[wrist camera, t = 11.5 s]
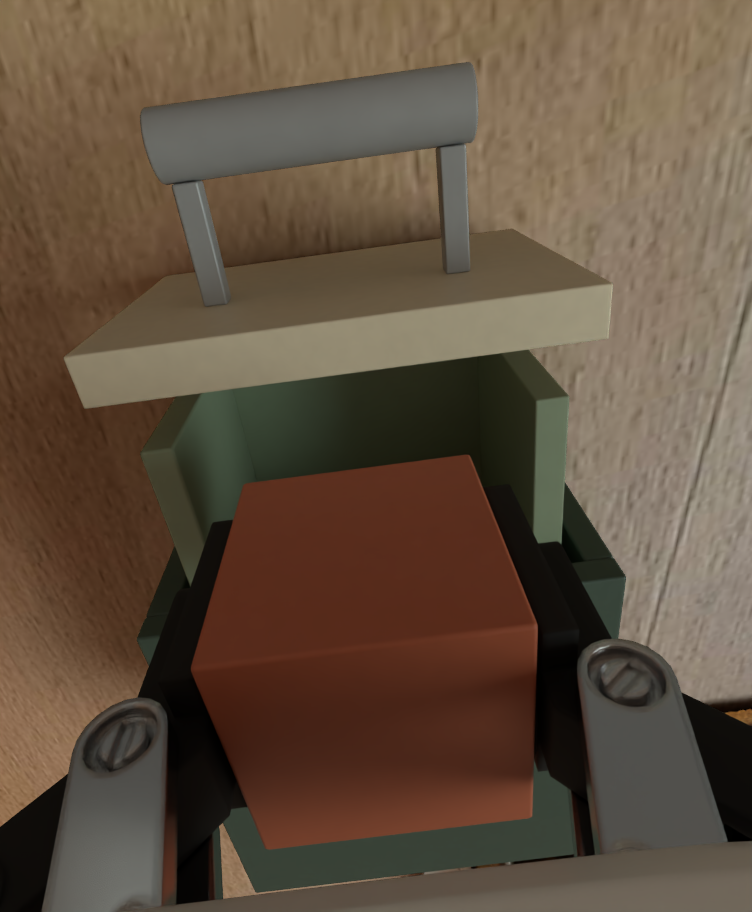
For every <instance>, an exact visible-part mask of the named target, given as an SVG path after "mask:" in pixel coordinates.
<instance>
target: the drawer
mask: <svg viewBox="0 0 752 912" xmlns="http://www.w3.org/2000/svg"><path fill="white" fill-rule="evenodd" d="M477 123H478V91H477V81H476V75H475V71H474V68H473V65H472V64H471V63H470V62H465V63H458V64H451V65H444V66H437V67H430V68H422V69H415V70H408V71H401V72H394V73H387V74H380V75H373V76H366V77H359V78H351V79H344V80H337V81H330V82H323V83H316V84H309V85H302V86H295V87H288V88H280V89H273V90H266V91H259V92H252V93H245V94H238V95H231V96H224V97H217V98H210V99H202V100H195V101H188V102H181V103H174V104H167V105H160V106H153V107H146V108H144V109H142V111H141V115H140V124H141V132H142V138H143V142H144V146H145V150H146V153H147V156H148V159H149V161H150V164H151V166H152V168H153V171H154V172H155V174H156V176H157V178H158V179H159V180H160V182H161V183H163V184H165V185H170V184H174V185H172V190H173V194H174V197H175V201H176V205H177V208H178V212H179V216H180V219H181V223H182V227H183V230H184V234H185V238H186V241H187V245H188V249H189V252H190V256H191V259H192V263H193V267H194V270H195V272H192V273H184V274H177V275H170V276H165V277H164V278H163V279H161V280H160V281H159V282H158V283H156V284H155V285H154V286H153V287H151V288H150V289H149V290H148V291H146V292H145V293H144V294H143V295H141V296H140V297H139V298H138V299H136V300H135V301H134V302H132V303H131V304H130V305H129V306H127V307H126V308H125V309H124V310H122V311H121V312H120V313H119V314H117V315H116V316H115V317H114V318H112V319H111V320H110V321H109V322H107V323H106V324H105V325H104V326H102V327H101V328H100V329H99V330H97V331H96V332H95V333H93V334H92V335H91V336H90V337H88V338H87V339H86V340H85V341H83V342H82V343H81V344H80V345H78V346H77V347H76V348H75V349H73V350H72V351H71V352H70V353H68V354H67V355H66V356H65V357H64V361H65V364H66V366H67V369H68V371H69V373H70V376H71V378H72V381H73V383H74V385H75V388H76V390H77V393H78V395H79V397H80V400H81V402H82V405H83V407H84V408H85V409H87V408H95V407H102V406H110V405H117V404H125V403H132V402H140V401H147V400H155V399H162V398H170V397H175V399H174V400H173V402H172V404H171V405H170V407H169V408H168V410H167V411H166V413H165V415H164V416H163V418H162V419H161V421H160V422H159V424H158V426H157V427H156V429H155V430H154V432H153V433H152V435H151V437H150V438H149V440H148V441H147V443H146V444H145V446H144V448H143V449H142V451H141V453H140V455H141V458H142V461H143V463H144V466H145V468H146V471H147V474H148V476H149V479H150V482H151V484H152V487H153V490H154V492H155V495H156V497H157V500H158V503H159V505H160V508H161V511H162V513H163V516H164V519H165V521H166V524H167V526H168V529H169V532H170V534H171V537H172V540H173V542H174V545H175V548H176V550H177V553H178V555H179V558H180V561H181V563H182V566H183V569H184V571H185V574H186V577H187V579H188V582H189V584H190V586H191V583H192V581H193V578H194V575H195V572H196V569H197V566H198V563H199V560H200V557H201V554H202V551H203V548H204V545H205V542H206V539H207V536H208V533H209V531H210V528H211V525H212V523H213V522H218V521H225V520H233V519H234V516H235V512H236V509H237V505H238V502H239V498H240V495H241V491H242V488H243V485H244V484H246V483H252V482H260V481H268V480H275V479H283V478H291V477H298V476H306V475H314V474H321V473H329V472H337V471H344V470H352V469H360V468H367V467H375V466H383V465H390V464H398V463H406V462H413V461H421V460H429V459H436V458H444V457H452V456H459V455H469V456H470V457H471V459H472V462H473V464H474V467H475V469H476V472H477V474H478V477H479V479H480V482H481V484H482V487H488V486H496V485H503V484H510V486H511V488H512V490H513V492H514V494H515V496H516V498H517V500H518V502H519V504H520V507H521V509H522V511H523V513H524V515H525V517H526V519H527V521H528V523H529V525H530V527H531V529H532V532H533V534H534V536H535V538H536V540H537V542H538V543H546V542H554V541H558V542H559V543H560V544H561V540H562V522H563V503H564V485H565V466H566V448H567V429H568V411H569V396H568V394H567V393H566V392H565V391H564V390H563V389H562V388H561V386H560V385H559V384H558V383H557V382H556V381H555V380H554V378H553V377H552V376H551V375H550V374H549V373H548V372H547V370H546V369H545V368H544V367H543V366H542V365H541V364H540V362H539V361H538V360H537V359H536V358H535V357H534V356H533V354H532V353H531V352H530V351H529V349H536V348H544V347H551V346H559V345H566V344H574V343H581V342H589V341H596V340H604V339H608V336H609V325H610V313H611V302H612V290H613V284H612V283H611V282H609V281H608V280H606V279H604V278H602V277H600V276H598V275H597V274H595V273H593V272H591V271H589V270H587V269H585V268H584V267H582V266H580V265H578V264H576V263H574V262H573V261H571V260H569V259H567V258H565V257H563V256H562V255H560V254H558V253H556V252H554V251H552V250H550V249H549V248H547V247H545V246H543V245H541V244H539V243H538V242H536V241H534V240H532V239H530V238H528V237H527V236H525V235H523V234H521V233H519V232H517V231H515V230H514V229H506V230H499V231H492V232H484V233H477V234H470V235H469V217H468V190H467V162H466V145H465V143H471V142H473V141H474V139H475V135H476V131H477ZM436 147H437V148H436ZM429 148H436V163H437V179H438V196H439V213H440V229H441V238H440V239H433V240H426V241H418V242H411V243H404V244H396V245H389V246H382V247H374V248H367V249H360V250H353V251H345V252H338V253H331V254H323V255H316V256H309V257H301V258H294V259H287V260H279V261H272V262H265V263H257V264H250V265H243V266H235V267H228V268H224V266H223V261H222V257H221V253H220V249H219V245H218V241H217V237H216V233H215V229H214V225H213V221H212V217H211V213H210V209H209V205H208V201H207V197H206V193H205V189H204V185H203V182H202V181H201V180H206V179H213V178H220V177H227V176H234V175H242V174H249V173H256V172H263V171H270V170H278V169H285V168H292V167H299V166H306V165H313V164H321V163H328V162H335V161H342V160H349V159H357V158H364V157H371V156H378V155H385V154H393V153H400V152H407V151H414V150H421V149H429Z"/></svg>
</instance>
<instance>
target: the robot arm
mask: <svg viewBox="0 0 752 912" xmlns="http://www.w3.org/2000/svg"><path fill="white" fill-rule="evenodd" d="M483 489H484V492H485V494H486V497H487V499H488V502H489V504H490V507H491V509H492V512H493V514H494V517H495V519H496V522H497V524H498V527H499V529H500V532H501V534H502V537H503V539H504V542H505V544H506V547H507V549H508V552H509V554H510V557H511V559H512V562H513V564H514V567H515V569H516V572H517V574H518V577H519V579H520V582H521V584H522V587H523V589H524V592H525V594H526V597H527V599H528V602H529V604H530V607H531V609H532V612H533V614H534V617H535V619H536V622H537V624H538V640H537V674H536V707H535V741H534V761H535V764H536V767H537V770H538V772H541V771H549V774H550V777H552V778H553V779H555V780H556V781H558V782H560V783H561V784H563V785H564V786H566V787H567V791H568V801H569V811H570V822H571V832H572V842H573V852H574V858H565V859H557V860H548V861H539V862H530V863H521V864H513V865H504V866H495V867H486V868H477V869H468V870H460V871H451V872H443V873H434V874H426V875H418V876H409V877H401V878H392V879H384V880H375V881H367V882H359V883H350V884H342V885H334V886H325V887H317V888H309V889H300V890H292V891H284V892H275V893H267V894H259V895H251V896H243V897H235V898H227V899H223V887H222V867H221V847H220V830H219V826H220V825H221V824H222V823H223V822H224V821H225V820H226V819H227V818H228V817H229V816H230V812H231V809H236V808H244V807H248V806H247V804H246V802H245V799H244V797H243V794H242V792H241V790H240V787H239V785H238V782H237V780H236V778H235V775H234V773H233V770H232V768H231V766H230V763H229V761H228V758H227V756H226V754H225V751H224V749H223V746H222V744H221V742H220V739H219V737H218V735H217V732H216V730H215V727H214V725H213V723H212V720H211V718H210V715H209V713H208V711H207V708H206V706H205V703H204V701H203V699H202V696H201V694H200V691H199V689H198V687H197V684H196V682H195V679H194V677H193V675H192V672H191V665H192V662H193V658H194V655H195V651H196V648H197V644H198V641H199V637H200V634H201V630H202V627H203V623H204V620H205V617H206V613H207V610H208V606H209V603H210V599H211V596H212V592H213V589H214V585H215V582H216V578H217V575H218V571H219V568H220V564H221V561H222V557H223V554H224V550H225V547H226V543H227V540H228V536H229V533H230V529H231V526H232V523H233V520H225V521H218V522H213V523H212V525H211V528H210V531H209V533H208V536H207V539H206V542H205V545H204V548H203V551H202V554H201V557H200V560H199V563H198V566H197V569H196V572H195V575H194V578H193V581H192V583H191V586H190V588H186V589H180V590H179V591H178V592H177V593H176V595H175V597H174V599H173V602H172V605H171V608H170V610H169V613H168V616H167V619H166V621H165V624H164V627H163V629H162V632H161V635H160V638H159V640H158V643H157V646H156V649H155V651H154V654H153V657H152V659H151V662H150V665H149V668H148V670H147V673H146V676H145V678H144V681H143V684H142V687H141V689H140V692H139V695H138V698H133V699H128V700H124V701H122V702H119V703H117V704H115V705H112V706H110V707H109V708H107V709H106V710H104V711H103V712H101V713H100V714H99V715H97V716H96V717H95V718H94V719H93V720H92V721H91V722H90V723H89V724H88V725H87V726H86V727H85V729H84V730H83V732H82V733H81V735H80V736H79V738H78V739H77V741H76V744H75V747H74V749H73V752H72V757H71V762H70V767H69V772H68V774H67V775H66V776H65V777H63V778H62V779H61V780H59V781H58V782H57V783H56V784H54V785H53V786H52V787H51V788H49V789H48V790H47V791H45V792H44V793H43V794H42V795H40V796H39V797H38V798H37V799H35V800H34V801H33V802H31V803H30V804H29V805H28V806H26V807H25V808H24V809H22V810H21V811H20V812H19V813H17V814H16V815H15V816H14V817H12V818H11V819H10V820H8V821H7V822H6V823H5V824H3V825H2V826H1V827H0V912H752V726H750V725H748V724H746V723H744V722H742V721H740V720H737V719H735V718H733V717H731V716H729V715H727V714H725V713H723V712H721V711H719V710H717V709H715V708H713V707H710V706H708V705H706V704H704V703H702V702H700V701H698V700H696V699H694V698H692V697H690V696H688V695H686V694H684V693H681V690H680V687H679V684H678V680H677V678H676V676H675V674H674V672H673V670H672V668H671V666H670V665H669V664H668V663H667V662H666V661H665V660H664V659H663V658H662V657H661V656H660V655H659V654H658V653H656V652H654V651H653V650H651V649H650V648H648V647H647V646H644V645H641V644H639V643H636V642H634V641H629V640H623V639H612V638H611V636H610V634H609V632H608V630H607V628H606V627H605V625H604V623H603V621H602V619H601V617H600V615H599V613H598V612H597V610H596V608H595V606H594V604H593V602H592V600H591V599H590V597H589V595H588V593H587V591H586V589H585V587H584V585H583V584H582V582H581V580H580V578H579V576H578V574H577V572H576V571H575V569H574V567H573V565H572V563H571V561H570V559H569V557H568V556H567V554H566V552H565V550H564V548H563V547H562V545H561V544H560V543H559V542H558V541H554V542H546V543H538V542H537V540H536V538H535V536H534V534H533V532H532V529H531V527H530V525H529V523H528V521H527V519H526V517H525V515H524V513H523V511H522V509H521V507H520V504H519V502H518V500H517V498H516V496H515V494H514V492H513V490H512V488H511V486H510V484H503V485H496V486H488V487H483Z"/></svg>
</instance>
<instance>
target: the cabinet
mask: <svg viewBox="0 0 752 912" xmlns="http://www.w3.org/2000/svg"><path fill="white" fill-rule="evenodd" d="M561 545H562V547H563V548H564V550H565V552H566V554H567V556H568V557H569V559H570V561H571V563H572V565H573V567H574V569H575V571H576V572H577V574H578V576H579V578H580V580H581V582H582V584H583V585H584V587H585V589H586V591H587V593H588V595H589V597H590V599H591V600H592V602H593V604H594V606H595V608H596V610H597V612H598V613H599V615H600V617H601V619H602V621H603V623H604V625H605V627H606V628H607V630H608V632H609V634H610V636H611V638H612V639H618V635H619V628H620V620H621V613H622V605H623V597H624V590H625V582H626V576H625V574H624V573H623V571H622V570H621V568H620V567H619V565H618V564H617V562H616V561H615V559H614V558H613V556H612V554H611V553H610V551H609V550H608V548H607V547H606V545H605V544H604V542H603V541H602V539H601V537H600V536H599V534H598V533H597V531H596V530H595V528H594V527H593V525H592V523H591V522H590V520H589V519H588V517H587V516H586V514H585V513H584V511H583V510H582V508H581V506H580V505H579V503H578V502H577V500H576V499H575V497H574V496H573V494H572V492H571V491H570V489H569V488H568V486H567V485H566V483H565V485H564V503H563V522H562V540H561ZM186 588H190V584H189V582H188V579H187V577H186V574H185V571H184V569H183V566H182V563H181V561H180V558H179V555H178V553H177V550H176V548H175V546H174V549H173V551H172V554H171V556H170V559H169V561H168V564H167V566H166V569H165V571H164V573H163V576H162V578H161V581H160V583H159V586H158V588H157V591H156V593H155V595H154V598H153V600H152V603H151V605H150V608H149V610H148V613H147V616H146V617H147V618H145V620H144V622H143V625H142V627H141V630H140V632H139V634H138V637H137V642H138V644H139V646H140V648H141V650H142V653H143V655H144V657H145V659H146V661H147V663H148V665H150V662H151V659H152V657H153V654H154V651H155V649H156V646H157V643H158V640H159V638H160V635H161V632H162V629H163V627H164V624H165V621H166V619H167V616H168V613H169V610H170V608H171V605H172V602H173V599H174V597H175V595H176V593H177V592H178V591H179V590H180V589H186ZM223 824H224V826H225V828H226V831H227V833H228V835H229V837H230V839H231V841H232V843H233V845H234V847H235V850H236V852H237V854H238V856H239V858H240V860H241V862H242V864H243V867H244V869H245V871H246V873H247V875H248V877H249V879H250V881H251V883H252V886H253V888H254V890H255V892H257V893H258V892H266V891H275V890H283V889H291V888H300V887H308V886H316V885H324V884H333V883H341V882H349V881H357V880H366V879H374V878H382V877H390V876H399V875H407V874H415V873H423V872H432V871H440V870H448V869H456V868H465V867H473V866H481V865H489V864H498V863H506V862H514V861H522V860H531V859H539V858H547V857H555V856H564V855H572V854H574V852H573V842H572V832H571V822H570V811H569V801H568V791H567V787H566V786H564V785H563V784H561V783H560V782H558V781H556V780H555V779H553V778H552V777H550V774H549V771H541V772H538V770H537V767H536V764H535V761H534V775H533V808H532V817H530V818H527V819H519V820H511V821H502V822H494V823H486V824H477V825H469V826H461V827H453V828H444V829H436V830H428V831H419V832H411V833H403V834H395V835H386V836H378V837H370V838H361V839H353V840H345V841H337V842H328V843H320V844H312V845H303V846H295V847H287V848H279V849H270V850H269V849H265V847H264V845H263V842H262V840H261V837H260V835H259V833H258V830H257V828H256V825H255V823H254V821H253V818H252V816H251V814H250V811H249V809H248V807H244V808H236V809H231V812H230V816H229V817H228V818H227V819H226V820H225V821H224V822H223Z"/></svg>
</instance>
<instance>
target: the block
mask: <svg viewBox="0 0 752 912" xmlns="http://www.w3.org/2000/svg"><path fill="white" fill-rule="evenodd" d="M537 640H538V624H537V622H536V619H535V617H534V614H533V612H532V609H531V607H530V604H529V602H528V599H527V597H526V594H525V592H524V589H523V587H522V584H521V582H520V579H519V577H518V574H517V572H516V569H515V567H514V564H513V562H512V559H511V557H510V554H509V552H508V549H507V547H506V544H505V542H504V539H503V537H502V534H501V532H500V529H499V527H498V524H497V522H496V519H495V517H494V514H493V512H492V509H491V507H490V504H489V502H488V499H487V497H486V494H485V492H484V489H483V487H482V484H481V482H480V479H479V477H478V474H477V472H476V469H475V467H474V464H473V462H472V459H471V457H470V456H469V455H459V456H452V457H444V458H436V459H429V460H421V461H413V462H406V463H398V464H390V465H383V466H375V467H367V468H360V469H352V470H344V471H337V472H329V473H321V474H314V475H306V476H298V477H291V478H283V479H275V480H268V481H260V482H252V483H246V484H244V485H243V488H242V491H241V495H240V498H239V502H238V505H237V509H236V512H235V516H234V519H233V523H232V526H231V529H230V533H229V536H228V540H227V543H226V547H225V550H224V554H223V557H222V561H221V564H220V568H219V571H218V575H217V578H216V582H215V585H214V589H213V592H212V596H211V599H210V603H209V606H208V610H207V613H206V617H205V620H204V623H203V627H202V630H201V634H200V637H199V641H198V644H197V648H196V651H195V655H194V658H193V662H192V665H191V672H192V675H193V677H194V679H195V682H196V684H197V687H198V689H199V691H200V694H201V696H202V699H203V701H204V703H205V706H206V708H207V711H208V713H209V715H210V718H211V720H212V723H213V725H214V727H215V730H216V732H217V735H218V737H219V739H220V742H221V744H222V746H223V749H224V751H225V754H226V756H227V758H228V761H229V763H230V766H231V768H232V770H233V773H234V775H235V778H236V780H237V782H238V785H239V787H240V790H241V792H242V794H243V797H244V799H245V802H246V804H247V806H248V809H249V811H250V814H251V816H252V818H253V821H254V823H255V825H256V828H257V830H258V833H259V835H260V837H261V840H262V842H263V845H264V847H265V849H269V850H270V849H279V848H287V847H295V846H303V845H312V844H320V843H328V842H337V841H345V840H353V839H361V838H370V837H378V836H386V835H395V834H403V833H411V832H419V831H428V830H436V829H444V828H453V827H461V826H469V825H477V824H486V823H494V822H502V821H511V820H519V819H527V818H530V817H532V808H533V775H534V741H535V707H536V674H537Z"/></svg>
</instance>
